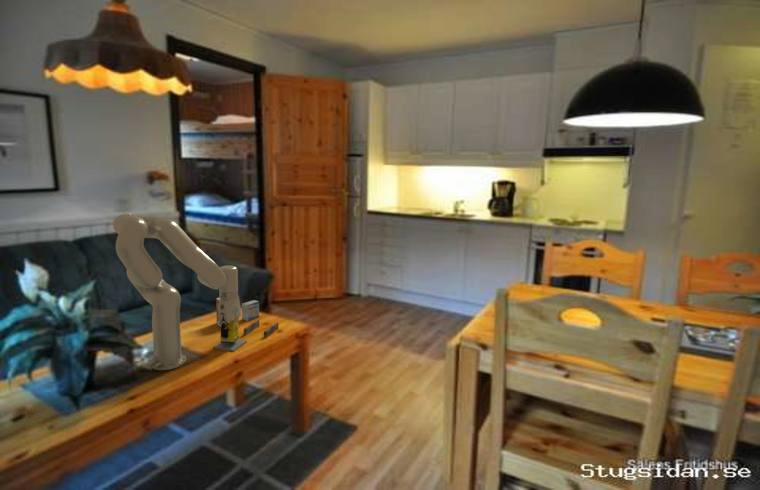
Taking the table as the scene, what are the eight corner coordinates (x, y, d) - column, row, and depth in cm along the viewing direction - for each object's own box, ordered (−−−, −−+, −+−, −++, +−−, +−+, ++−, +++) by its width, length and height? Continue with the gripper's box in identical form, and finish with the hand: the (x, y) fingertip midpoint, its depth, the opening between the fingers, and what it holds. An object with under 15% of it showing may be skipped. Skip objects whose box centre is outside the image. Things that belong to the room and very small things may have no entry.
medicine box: (247, 321, 209) (247, 305, 207) (241, 319, 211) (241, 303, 209) (259, 317, 216) (259, 301, 214) (253, 315, 218) (253, 299, 216)
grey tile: (234, 351, 175) (234, 349, 175) (213, 348, 177) (213, 346, 177) (246, 342, 184) (246, 340, 184) (226, 339, 187) (226, 337, 186)
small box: (216, 323, 205) (215, 297, 203) (228, 320, 209) (228, 295, 207) (223, 328, 199) (222, 302, 197) (235, 325, 204) (235, 299, 201)
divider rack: (266, 337, 190) (266, 331, 189) (243, 334, 192) (243, 328, 192) (278, 328, 201) (278, 322, 201) (257, 325, 204) (257, 319, 203)
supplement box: (234, 343, 177) (233, 319, 175) (220, 343, 177) (219, 319, 175) (239, 338, 183) (238, 314, 181) (225, 337, 183) (225, 314, 181)
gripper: (224, 301, 167) (225, 343, 170) (247, 290, 184) (248, 328, 187) (208, 299, 169) (209, 340, 172) (232, 288, 186) (233, 326, 189)
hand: (229, 333), depth 180 cm, fingers closed on supplement box, 6 cm apart
